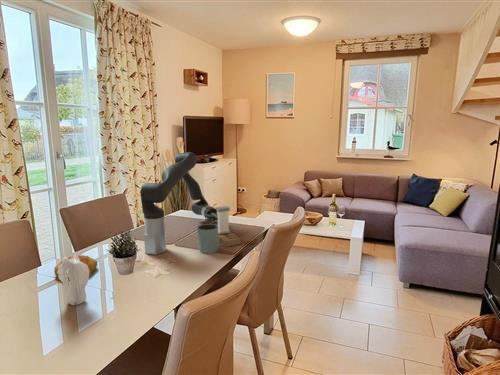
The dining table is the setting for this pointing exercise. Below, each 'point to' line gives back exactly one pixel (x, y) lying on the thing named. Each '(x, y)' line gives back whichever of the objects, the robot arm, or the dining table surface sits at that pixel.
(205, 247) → the teal cylindrical container
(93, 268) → the croissant
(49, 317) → the dining table surface
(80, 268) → the shell sculpture
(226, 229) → the white tall block
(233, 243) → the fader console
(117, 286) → the dining table surface
